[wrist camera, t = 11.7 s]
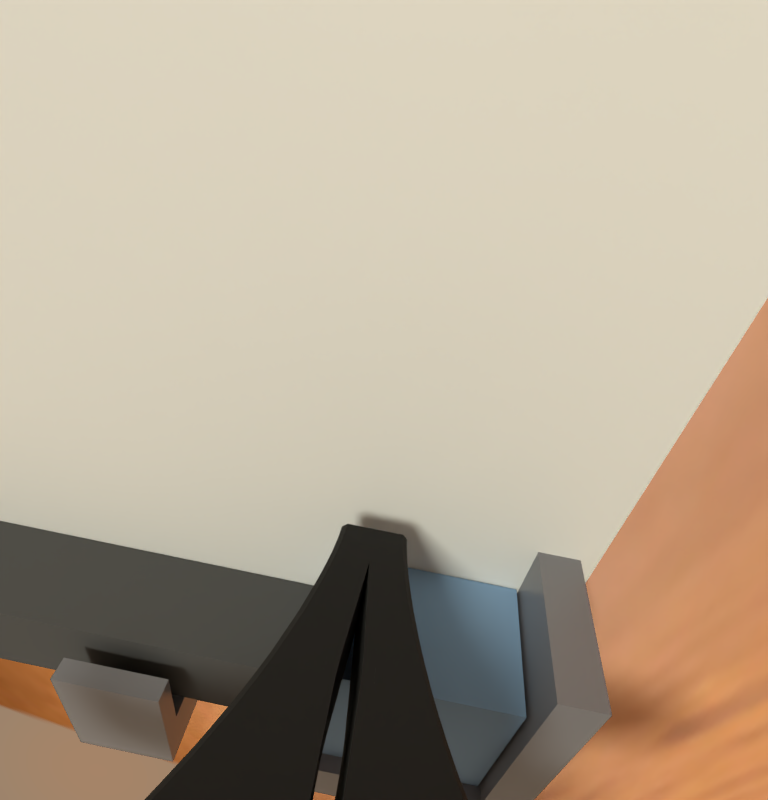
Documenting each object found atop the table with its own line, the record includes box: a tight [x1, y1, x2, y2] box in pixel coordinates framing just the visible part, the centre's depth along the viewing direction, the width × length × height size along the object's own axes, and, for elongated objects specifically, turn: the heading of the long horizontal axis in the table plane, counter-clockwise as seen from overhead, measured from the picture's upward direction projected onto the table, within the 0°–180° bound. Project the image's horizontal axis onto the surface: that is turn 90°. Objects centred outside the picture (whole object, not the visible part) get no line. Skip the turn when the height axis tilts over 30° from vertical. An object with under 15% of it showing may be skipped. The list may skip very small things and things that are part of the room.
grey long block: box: [0, 521, 526, 786], centre depth 13 cm, size 16×4×3 cm, turn 82°
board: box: [0, 0, 768, 800], centre depth 11 cm, size 20×20×4 cm
